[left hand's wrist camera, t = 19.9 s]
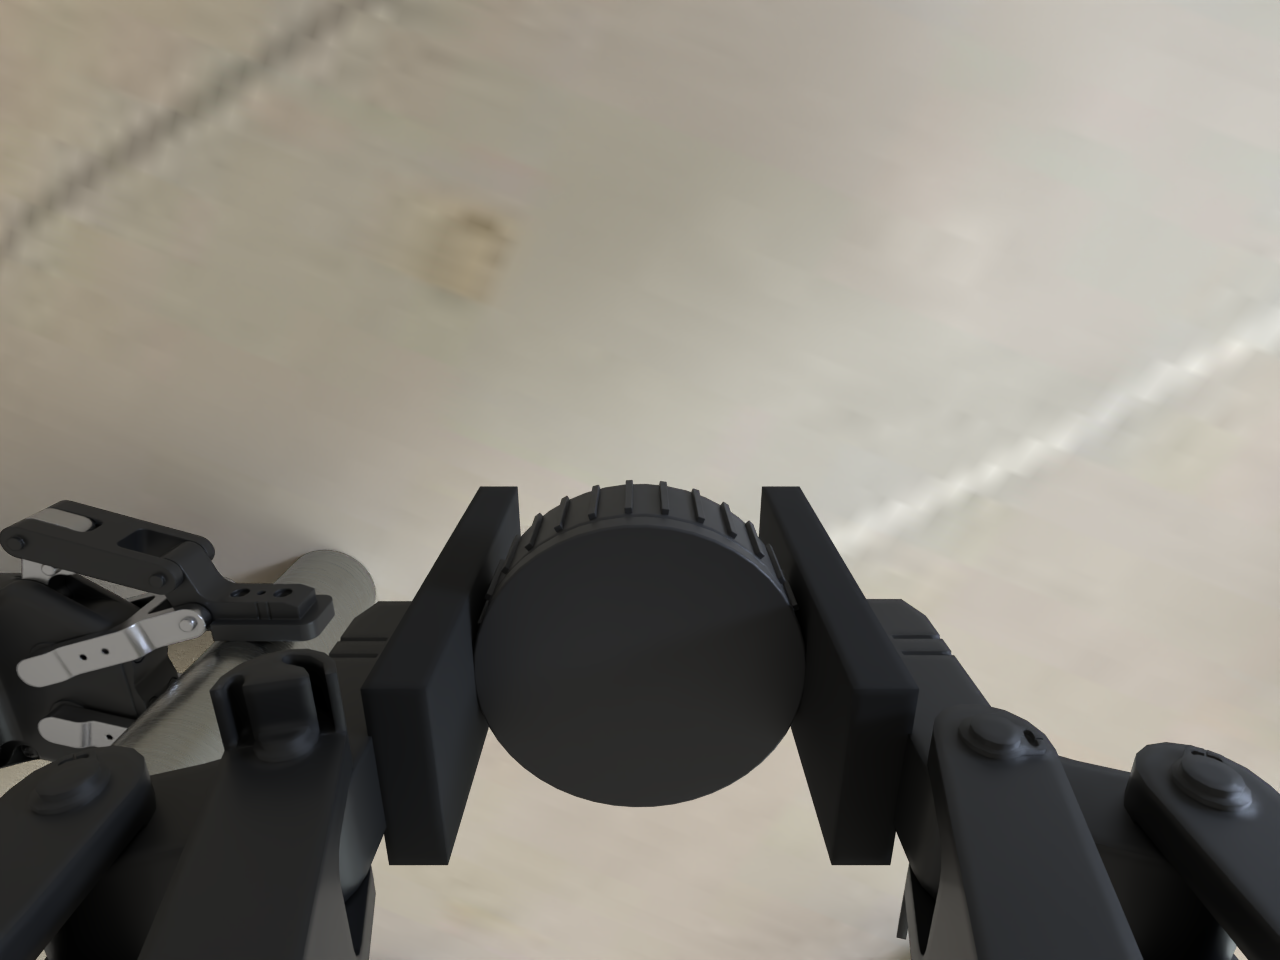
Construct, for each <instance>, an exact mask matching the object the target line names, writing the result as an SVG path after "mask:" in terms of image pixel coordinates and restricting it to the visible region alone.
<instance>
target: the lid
mask: <svg viewBox="0 0 1280 960" xmlns="http://www.w3.org/2000/svg"><path fill="white" fill-rule="evenodd" d="M485 599H486V600H487V601H486V603H485V606H484V608H483V611H482V613H481V616H480V618H479V621H478V632H477V635H476V640H475V646H474V651H473V663H474V674H475V684H476V694H477V698H478V702H479V705H480V708H481V711H482V713H483V715H484V717H485V719H486V722H487V724H488V726H489V727H490V729H491V730H492V732H493V734H494V735H495V737H496V738H497V740H498V741H499V742H500V744H501V745H502V746H503V747H504V748H505V750H506V751H507V752H508V753H509V754H510V755H511V756H512V757H513V758H514V759H515V760H516V761H517V762H518V763H519V764H520V765H521V766H523V767H524V768H525V769H526V770H528V771H529V772H531V773H532V774H533V775H535V776H536V777H538V778H539V779H540V780H542V781H544V782H546V783H548V784H549V785H551V786H553V787H555V788H557V789H559V790H561V791H564V792H566V793H569V794H571V795H573V796H576V797H580V798H583V799H586V800H590V801H593V802H598V803H603V804H609V805H614V806H627V807H655V806H663V805H671V804H677V803H681V802H686V801H690V800H694V799H697V798H700V797H703V796H705V795H708V794H711V793H714V792H716V791H718V790H720V789H722V788H724V787H726V786H728V785H730V784H732V783H734V782H735V781H737V780H738V779H740V778H742V777H743V776H745V775H746V774H748V773H749V772H750V771H752V770H753V769H754V768H755V767H757V766H758V765H759V764H760V763H762V762H763V760H764V759H765V758H766V757H767V756H768V755H769V754H770V753H771V752H772V751H773V750H774V749H775V748H776V747H777V745H778V744H779V743H780V741H781V740H782V739H783V737H784V736H785V735H786V733H787V731H788V729H789V728H790V726H791V724H792V722H793V721H794V719H795V716H796V714H797V711H798V709H799V706H800V703H801V701H802V696H803V689H804V679H805V669H806V649H805V643H804V639H803V635H802V631H801V627H800V624H799V622H798V619H797V617H796V614H795V611H797V610H799V607H798V604H797V601H796V599H795V597H794V594H793V592H792V589H791V587H790V584H789V582H788V580H787V577H786V575H785V572H784V570H783V569H782V570H781V568H780V566H779V563H778V561H777V558H776V556H775V553H774V551H773V548H772V547H771V545H770V544H767V545H764V543H763V542H762V541H761V540H760V539H759V537H758V536H757V533H756V531H755V528H754V525H753V524H752V523H751V522H750V521H748V522H747V523H746V524H745V523H744V522H743V521H742V520H741V519H740V518H739V517H737V516H736V515H734V514H733V513H732V512H730V508H729V505H728V504H726V503H725V502H723V503H722V504H721V505H719V504H717V503H715V502H713V501H711V500H709V499H707V498H705V497H703V496H700V493H699V490H696V489H692V492H689V491H686V490H682V489H677V488H673V487H668V486H667V482H663V481H660V484H659V485H650V484H633V480H626V485H619V486H612V487H606V488H602V489H600V487H599V485H596V486H593V487H592V491H591V492H587V493H584V494H582V495H580V496H577V497H575V498H572V499H569V498H568V496H566V497H564V498H562V500H561V503H560V505H559V506H557V507H555V508H554V509H552V510H550V511H549V512H548V513H546V514H545V515H544V516H542V515H541V513H539V514H537V515H536V516H535V518H534V521H533V524H532V526H531V527H530V528H529V529H528V530H527V531H526V532H525V533H524V534H523V535H522V536H519V535H518V534H517V535H516V536H515V537H514V539H513V542H512V544H511V547H510V549H509V552H508V554H507V557H506V559H505V561H504V560H502V559H501V560H500V562H499V564H498V566H497V569H496V571H495V574H494V576H493V578H492V581H491V583H490V586H489V588H488V591H487V593H486V595H485Z"/></svg>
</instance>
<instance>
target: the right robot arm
mask: <svg viewBox="0 0 1280 960" xmlns="http://www.w3.org/2000/svg"><path fill="white" fill-rule="evenodd" d="M0 544H1V546H2V547H3V549H4V550H5V551H6V552H7V553H9V554H10V555H12V556H14V557H17V558H20V559H22V573H0V769H1V768H5V767H8V766H12V765H15V764H19V763H23V762H27V761H31V760H37V759H42V760H48V761H51V762H54V761H55V760H57V759H59V758H61V757H64V756H67V755H69V754H72V753H73V754H74V753H77V752H79V751H83V750H86V749H90V748H97V747H105V746H110V745H111V744H112V743H113V742H114V741H115V740H116V739H117V738H118V737H119V736H120V735H121V734H122V733H123V732H124V731H125V730H126V729H127V728H128V727H129V726H130V725H131V724H132V723H133V722H134V721H135V720H136V719H137V718H138V717H139V716H140V715H141V714H142V713H143V712H144V711H145V710H146V709H148V708H149V707H150V706H151V705H152V704H153V703H154V702H155V701H156V700H157V699H158V698H159V697H160V696H161V695H162V694H163V693H164V692H165V691H166V690H167V689H168V688H169V687H170V686H171V685H172V684H173V683H174V682H175V681H176V680H177V679H178V678H179V677H180V676H181V675H182V673H178V672H177V671H176V669H175V667H174V666H173V664H172V662H171V661H170V659H169V657H168V645H171V644H175V643H179V642H182V641H186V640H190V639H194V638H197V637H199V636H201V635H202V634H203V633H204V632H205V631H211V632H212V636H213V640H214V641H308V640H312V639H314V638H316V637H318V636H319V635H320V634H321V633H322V631H323V630H324V629H325V628H326V626H327V625H328V624H329V622H330V621H331V620H332V618H333V617H334V616H335V611H334V605H333V599H332V597H331V596H330V595H316V593H315V588H312V587H309V586H306V585H303V584H240V583H236V582H234V581H233V580H231V579H229V578H226V577H222V576H221V575H220V573H219V572H218V571H217V569H216V568H215V566H214V564H213V563H212V561H211V560H212V559H213V558H214V555H215V550H214V547H213V545H212V544H211V543H210V541H208V540H207V539H206V538H204V537H201V536H198V535H194V534H191V533H187V532H183V531H180V530H176V529H172V528H169V527H165V526H161V525H158V524H154V523H150V522H147V521H143V520H139V519H136V518H132V517H128V516H125V515H121V514H117V513H113V512H110V511H106V510H102V509H99V508H95V507H91V506H88V505H84V504H80V503H77V502H73V501H69V500H63V501H60V502H58V503H56V504H54V505H52V506H50V507H48V508H46V509H44V510H42V511H40V512H38V513H36V514H34V515H32V516H30V517H28V518H25V519H23V520H21V521H19V522H17V523H15V524H13V525H11V526H9V527H7V528H5V529H3V530H2V531H1V533H0ZM77 573H78V574H77ZM79 574H81V575H85V576H89V577H93V578H97V579H100V580H104V581H108V582H112V583H116V584H120V585H123V586H127V587H131V588H135V589H139V590H142V591H146V592H149V593H145V594H142V595H138V596H134V597H131V598H127V599H123V598H121V597H120V596H118V595H116V594H114V593H112V592H110V591H108V590H107V589H105V588H103V587H101V586H99V585H97V584H95V583H94V582H92V581H90V580H88V579H86V578H84V577H82V576H81V575H79Z"/></svg>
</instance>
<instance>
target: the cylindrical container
mask: <svg viewBox="0 0 1280 960" xmlns="http://www.w3.org/2000/svg"><path fill="white" fill-rule="evenodd" d="M273 584H303V585H306V586H309V587H312V588H315V593H316V595H330V596H331V597H332V599H333V605H334V611H335V616H334V617H333V618H332V620H331V621H330V622H329V624H328V625H327V626H326V628H325V629H324V630H323V631H322V633H321V634H320V635H319V636H318V637H316V638H314V639H312V640H308V641H215V642H214V643H213V644H212V645H211V646H210V647H209V648H208V649H207V650H206V651H205V652H204V653H203V654H202V655H201V656H200V657H199V658H198V659H197V660H196V661H195V662H194V663H193V664H192V665H191V666H190V667H189V668H188V669H187V670H186V671H185V672H184V673H183V674H182V675H181V676H180V677H179V678H178V679H177V680H176V681H175V682H174V683H173V684H172V685H171V686H170V687H169V688H168V689H167V690H166V691H165V692H164V693H163V694H162V695H161V696H160V697H159V698H158V699H157V700H156V701H155V702H154V703H153V704H152V705H151V706H150V707H149V708H148V709H146V710H145V711H144V712H143V713H142V714H141V715H140V716H139V717H138V718H137V719H136V720H135V721H134V722H133V723H132V724H131V725H130V726H129V727H128V728H127V729H126V730H125V731H124V732H123V733H122V734H121V735H120V736H119V737H118V738H117V739H116V740H115V741H114V742H113V743H112V744H111V745H110V746H113V745H115V746H122V747H129V748H134V749H135V750H136V751H137V752H139V753H140V754H141V755H142V756H144V758H145V762H146V765H147V768H148V772H149V775H154V774H159V773H163V772H168V771H173V770H177V769H182V768H186V767H191V766H195V765H200V764H204V763H208V762H211V761H215V760H218V759H221V758H222V755H223V753H224V747H223V743H222V739H221V735H220V731H219V727H218V723H217V720H216V716H215V712H214V708H213V704H212V700H211V696H210V692H209V690H210V689H211V688H212V687H213V686H214V684H215V683H216V682H217V681H218V679H219V678H220V677H221V676H223V675H224V674H225V673H227V672H228V671H230V670H231V669H233V668H234V667H236V666H237V665H239V664H241V663H243V662H246V661H248V660H251V659H253V658H255V657H258V656H260V655H263V654H267V653H272V652H276V651H281V650H285V649H312V650H316V651H320V652H324V653H326V654H327V655H328V656H329V653H330V651H331V650H332V648H333V647H334V646H335V644H336V643H337V641H340V637H341V636H342V634H343V633H344V632H345V630H346V629H347V627H348V626H349V625H350V623H351V622H352V620H353V619H354V618H355V617H356V616H358V615H359V614H361V613H362V612H364V611H365V610H367V609H368V608H370V607H371V606H373V605H374V603H375V598H376V592H375V586H374V583H373V580H372V578H371V576H370V574H369V573H368V571H367V570H366V569H365V568H364V567H363V565H361V564H360V563H359V562H358V561H357V560H355V559H354V558H352V557H350V556H348V555H346V554H344V553H341V552H337V551H332V550H318V551H313V552H310V553H307V554H305V555H303V556H302V557H300V558H299V559H298V560H297V561H296V562H295V563H294V564H292V565H291V566H290V567H289V568H288V569H287V570H286V571H285V572H284V573H283V574H282V575H281V576H280V577H279V578H278V579H277V580H276V581H275V582H274V583H273Z"/></svg>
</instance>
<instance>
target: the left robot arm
mask: <svg viewBox="0 0 1280 960" xmlns="http://www.w3.org/2000/svg"><path fill="white" fill-rule="evenodd" d="M517 534H518V535H519V536H521V534H520V518H519V503H518V487H480V488H479V489H478V491H477V493H476V494H475V496H474V498H473V499H472V501H471V503H470V505H469V506H468V508H467V510H466V511H465V513H464V515H463V516H462V518H461V520H460V521H459V523H458V525H457V526H456V528H455V530H454V531H453V533H452V535H451V537H450V538H449V540H448V542H447V543H446V545H445V547H444V548H443V550H442V552H441V553H440V555H439V557H438V558H437V560H436V562H435V564H434V565H433V567H432V569H431V570H430V572H429V574H428V575H427V577H426V579H425V580H424V582H423V584H422V585H421V587H420V589H419V591H418V592H417V594H416V596H415V597H414V599H413V601H378V602H377V603H376V604H374V605H373V606H371V607H370V608H368V609H367V610H365V611H364V612H362V613H361V614H359V615H358V616H356V617H355V618H354V619H353V620H352V622H351V623H350V625H349V626H348V627H347V629H346V630H345V632H344V633H343V634H342V636H341V637H340V641H337V643H336V644H335V646H334V647H333V648H332V650H331V651H330V653H329V656H328V655H327V654H326V653H324V652H320V651H316V650H312V649H285V650H281V651H276V652H272V653H267V654H263V655H260V656H258V657H255V658H253V659H251V660H248V661H246V662H243V663H241V664H239V665H237V666H236V667H234V668H233V669H231V670H230V671H228V672H227V673H225V674H224V675H223V676H221V677H220V678H219V679H218V681H217V682H216V683H215V684H214V686H213V687H212V688H211V689H210V690H209V692H210V696H211V700H212V704H213V708H214V712H215V716H216V720H217V723H218V727H219V731H220V735H221V739H222V743H223V747H224V753H223V755H222V758H221V759H218V760H215V761H211V762H208V763H204V764H200V765H195V766H191V767H186V768H182V769H177V770H173V771H168V772H163V773H159V774H154V775H149V772H148V768H147V765H146V762H145V758H144V756H142V755H141V754H140V753H139V752H137V751H136V750H135V749H134V748H129V747H122V746H115V745H113V746H105V747H97V748H90V749H86V750H83V751H79V752H77V753H74V754H73V753H72V754H69V755H67V756H64V757H61V758H59V759H57V760H55V761H54V762H52V763H50V764H48V765H46V766H44V767H42V768H40V769H38V770H36V771H34V772H32V773H31V774H30V775H28V776H27V777H26V778H24V779H23V780H22V781H20V782H19V783H18V784H16V785H15V786H13V787H12V788H11V789H10V790H8V791H7V792H6V793H5V794H4V795H3V796H2V797H1V798H0V960H36V959H37V957H38V956H39V955H40V954H41V952H42V951H43V950H45V953H46V955H47V957H46V958H45V960H369V953H370V943H371V934H372V924H373V915H374V905H375V895H376V892H375V885H374V878H373V873H372V867H371V863H372V861H373V859H374V856H375V854H376V851H377V849H378V846H379V844H380V842H381V839H382V837H383V834H384V836H385V842H386V849H387V855H388V861H389V865H448V863H449V860H450V856H451V853H452V849H453V846H454V843H455V839H456V836H457V833H458V829H459V826H460V822H461V819H462V816H463V812H464V809H465V806H466V802H467V799H468V795H469V792H470V789H471V785H472V782H473V779H474V775H475V772H476V768H477V765H478V762H479V758H480V755H481V752H482V748H483V745H484V741H485V738H486V735H487V731H488V728H489V726H488V724H487V722H486V719H485V717H484V715H483V713H482V711H481V708H480V705H479V702H478V698H477V694H476V684H475V674H474V663H473V651H474V646H475V640H476V635H477V632H478V621H479V618H480V616H481V613H482V611H483V608H484V606H485V603H486V601H487V600H486V599H485V595H486V593H487V591H488V588H489V586H490V583H491V581H492V578H493V576H494V574H495V571H496V569H497V566H498V564H499V562H500V560H501V559H502V560H504V561H505V559H506V557H507V554H508V552H509V549H510V547H511V544H512V542H513V539H514V537H515V536H516V535H517ZM759 539H760V540H761V541H762V542H763V543H764V545H767V544H770V545H771V547H772V548H773V551H774V553H775V556H776V558H777V561H778V563H779V566H780V568H781V570H782V569H783V570H784V572H785V575H786V577H787V580H788V582H789V584H790V587H791V589H792V592H793V594H794V597H795V599H796V601H797V604H798V607H799V610H797V611H795V614H796V617H797V619H798V622H799V624H800V627H801V631H802V635H803V639H804V643H805V649H806V669H805V679H804V689H803V696H802V701H801V703H800V706H799V709H798V711H797V714H796V716H795V719H794V721H793V722H792V724H791V729H792V733H793V736H794V739H795V743H796V746H797V750H798V753H799V756H800V760H801V763H802V766H803V770H804V773H805V777H806V780H807V783H808V787H809V790H810V793H811V797H812V800H813V804H814V807H815V810H816V814H817V817H818V821H819V824H820V827H821V831H822V834H823V837H824V841H825V844H826V848H827V851H828V854H829V858H830V861H831V864H832V865H890V864H891V858H892V852H893V846H894V840H895V834H896V832H897V834H898V837H899V839H900V842H901V844H902V846H903V849H904V851H905V854H906V856H907V858H908V861H909V867H908V873H907V878H906V884H905V890H904V895H903V901H902V907H901V912H900V918H899V924H898V931H897V938H901V939H906V936H907V931H908V932H909V941H910V951H911V960H1238V959H1237V957H1236V956H1235V955H1234V951H1235V949H1236V946H1237V947H1238V948H1239V949H1240V950H1241V951H1242V953H1243V954H1244V955H1245V956H1246V958H1247V959H1248V960H1280V794H1279V793H1278V792H1277V791H1276V790H1275V789H1274V788H1273V787H1271V786H1270V785H1269V784H1268V783H1266V782H1265V781H1264V780H1262V779H1261V778H1259V777H1258V776H1257V775H1255V774H1254V773H1253V772H1251V771H1250V770H1249V769H1247V768H1245V767H1243V766H1241V765H1239V764H1237V763H1235V762H1233V761H1231V760H1229V759H1227V758H1225V757H1224V756H1222V755H1220V754H1217V753H1214V752H1212V751H1209V750H1204V749H1202V748H1198V747H1195V746H1191V745H1184V744H1176V743H1169V742H1164V743H1157V744H1151V745H1146V746H1145V747H1144V748H1143V749H1142V750H1140V751H1139V752H1138V753H1137V754H1136V757H1135V760H1134V763H1133V766H1132V770H1131V772H1126V771H1121V770H1117V769H1112V768H1108V767H1103V766H1098V765H1094V764H1089V763H1084V762H1080V761H1076V760H1072V759H1069V758H1065V757H1062V756H1058V754H1057V752H1056V749H1055V748H1054V747H1053V745H1052V744H1051V742H1050V741H1049V740H1048V738H1047V737H1046V735H1045V734H1044V733H1042V732H1041V731H1040V730H1038V729H1037V728H1036V727H1035V726H1033V725H1032V724H1031V723H1029V722H1028V721H1027V720H1024V719H1022V718H1020V717H1018V716H1016V715H1014V714H1012V713H1010V712H1008V711H1005V710H1002V709H998V708H994V707H991V706H990V705H989V703H988V702H987V700H986V699H985V698H984V696H983V695H982V693H981V692H980V691H979V689H978V688H977V686H976V685H975V684H974V682H973V681H972V680H971V678H970V677H969V675H968V674H967V673H966V671H965V670H964V668H963V667H962V666H961V664H960V663H959V661H958V660H957V659H956V657H955V656H954V655H951V650H950V649H949V647H948V646H947V645H946V643H945V642H944V641H943V639H940V635H939V634H938V632H937V631H936V629H935V628H934V627H933V625H932V624H931V622H930V621H929V620H928V618H927V617H926V616H925V615H924V614H922V613H921V612H919V611H918V610H916V609H915V608H914V607H912V606H911V605H909V604H908V603H906V602H905V601H903V600H902V599H866V598H865V596H864V595H863V593H862V591H861V590H860V588H859V586H858V585H857V583H856V581H855V579H854V578H853V576H852V574H851V573H850V571H849V569H848V568H847V566H846V564H845V563H844V561H843V559H842V558H841V556H840V554H839V552H838V551H837V549H836V547H835V546H834V544H833V542H832V541H831V539H830V537H829V536H828V534H827V532H826V531H825V529H824V527H823V526H822V524H821V522H820V520H819V519H818V517H817V515H816V514H815V512H814V510H813V509H812V507H811V505H810V504H809V502H808V500H807V499H806V497H805V495H804V493H803V492H802V490H801V488H800V487H762V496H761V511H760V527H759Z"/></svg>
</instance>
